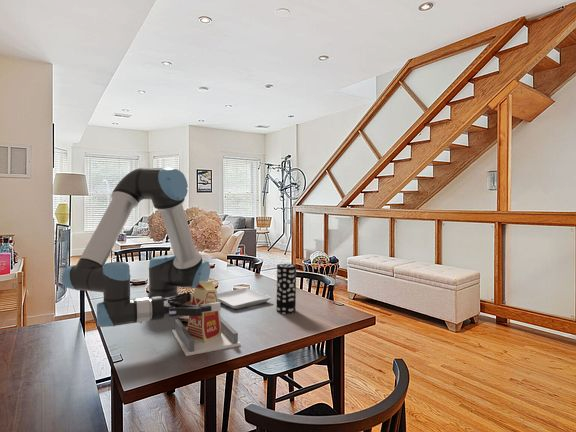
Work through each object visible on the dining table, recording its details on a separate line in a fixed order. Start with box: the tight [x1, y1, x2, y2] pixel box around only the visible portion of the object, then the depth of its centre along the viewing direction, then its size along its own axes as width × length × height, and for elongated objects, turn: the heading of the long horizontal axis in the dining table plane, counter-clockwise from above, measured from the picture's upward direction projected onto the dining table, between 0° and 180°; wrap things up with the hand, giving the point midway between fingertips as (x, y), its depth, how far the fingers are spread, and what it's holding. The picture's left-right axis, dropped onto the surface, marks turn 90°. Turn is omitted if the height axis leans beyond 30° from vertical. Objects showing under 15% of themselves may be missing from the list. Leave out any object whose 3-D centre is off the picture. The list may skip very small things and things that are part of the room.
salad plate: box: [217, 287, 272, 310], centre depth 173 cm, size 21×21×3 cm
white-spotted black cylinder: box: [276, 263, 297, 315], centre depth 160 cm, size 8×8×20 cm
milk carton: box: [187, 280, 221, 343], centre depth 128 cm, size 9×9×20 cm
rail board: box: [171, 315, 242, 357], centre depth 129 cm, size 22×18×4 cm
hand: (214, 300), depth 130 cm, fingers open, 13 cm apart
